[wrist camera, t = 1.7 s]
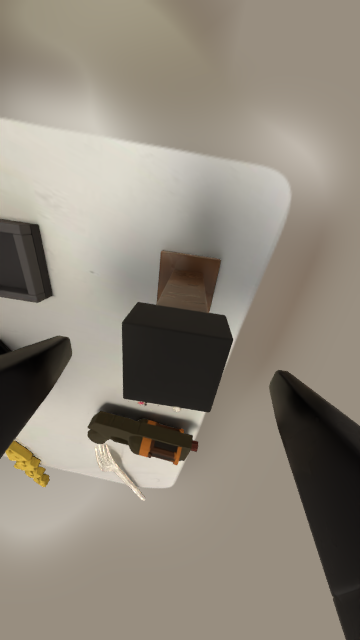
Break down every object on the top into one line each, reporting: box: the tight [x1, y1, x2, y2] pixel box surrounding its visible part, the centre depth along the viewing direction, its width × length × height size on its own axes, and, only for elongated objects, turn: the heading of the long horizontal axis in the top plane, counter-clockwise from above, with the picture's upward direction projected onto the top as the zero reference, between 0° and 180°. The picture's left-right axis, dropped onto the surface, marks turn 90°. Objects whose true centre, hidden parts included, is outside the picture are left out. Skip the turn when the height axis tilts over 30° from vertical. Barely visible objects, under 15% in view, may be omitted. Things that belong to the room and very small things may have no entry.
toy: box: [6, 441, 49, 487], centre depth 39 cm, size 15×1×5 cm
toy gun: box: [88, 411, 198, 465], centre depth 29 cm, size 5×17×10 cm
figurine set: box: [128, 401, 181, 412], centre depth 27 cm, size 1×8×1 cm
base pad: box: [0, 219, 52, 303], centre depth 18 cm, size 7×7×2 cm
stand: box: [156, 250, 221, 313], centre depth 14 cm, size 6×6×11 cm
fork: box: [95, 444, 145, 500], centre depth 38 cm, size 3×20×2 cm, turn 19°
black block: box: [122, 302, 233, 412], centre depth 8 cm, size 4×4×2 cm
